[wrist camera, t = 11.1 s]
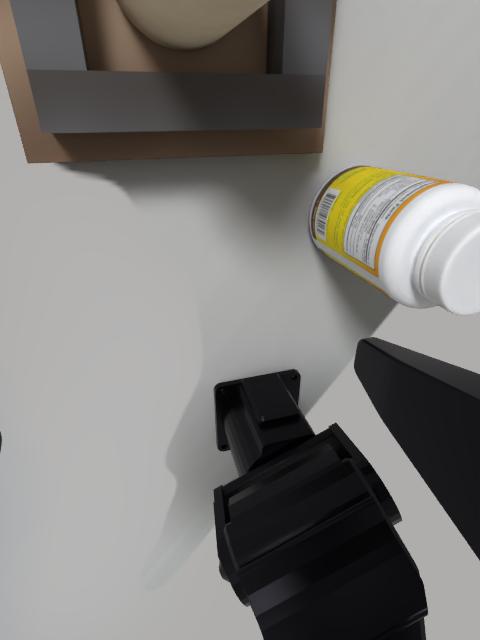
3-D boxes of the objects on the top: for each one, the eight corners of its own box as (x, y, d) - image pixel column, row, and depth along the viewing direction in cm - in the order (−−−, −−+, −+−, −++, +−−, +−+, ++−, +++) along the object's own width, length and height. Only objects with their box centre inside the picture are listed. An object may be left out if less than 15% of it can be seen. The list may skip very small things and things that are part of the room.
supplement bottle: (394, 227, 24) (547, 290, 15) (321, 271, 24) (434, 357, 15) (375, 144, 21) (552, 163, 12) (291, 194, 21) (410, 248, 12)
